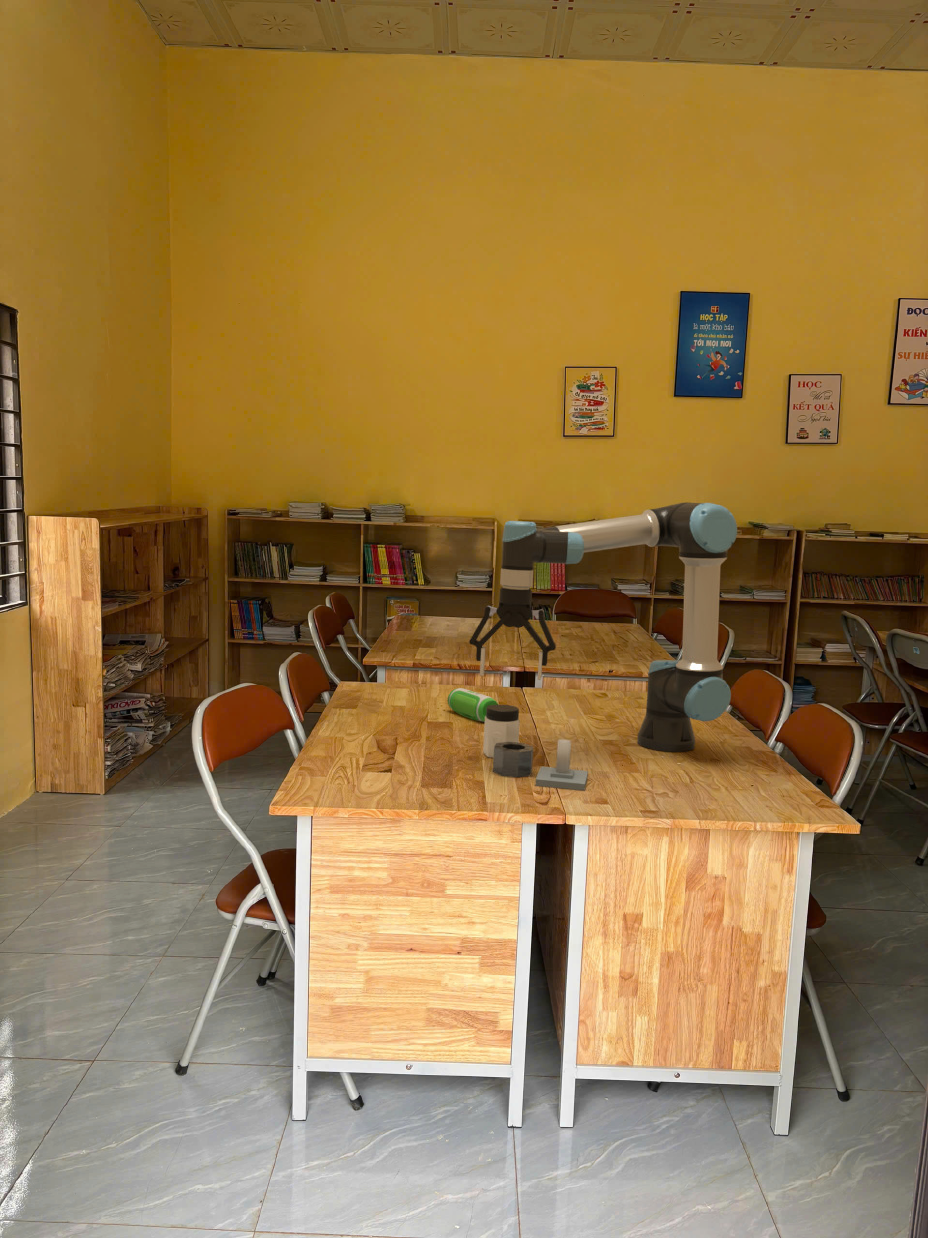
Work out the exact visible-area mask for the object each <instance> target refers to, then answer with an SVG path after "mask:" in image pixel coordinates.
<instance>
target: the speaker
mask: <svg viewBox="0 0 928 1238" xmlns="http://www.w3.org/2000/svg"><path fill="white" fill-rule="evenodd" d="M447 705H448V707H449V708H450V709H451V710H452V711H453V712H454V713H457V714H458V715H459V716H462V717H463V718H468V719H470V720H473V721H477V722H481V723H485V716H486V708H487V706H490V705H499V703H498V702H497V700H495V699H494V698H493V697H491V696H489V695H488V696H487V695H485V694H482V693H479V692H475V691H472V690H471V689H470V690H469V689H466V688H463V687H458V688H454V689H452V690H451V691H450V692H449V694H448V696H447Z"/></svg>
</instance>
